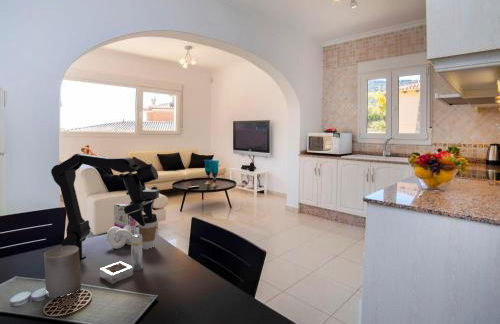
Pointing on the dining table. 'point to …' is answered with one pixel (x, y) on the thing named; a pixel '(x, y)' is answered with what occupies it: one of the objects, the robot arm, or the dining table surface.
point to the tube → (136, 252)
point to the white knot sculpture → (119, 236)
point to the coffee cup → (148, 232)
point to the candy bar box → (123, 218)
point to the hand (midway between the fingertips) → (147, 222)
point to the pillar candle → (62, 270)
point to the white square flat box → (116, 272)
